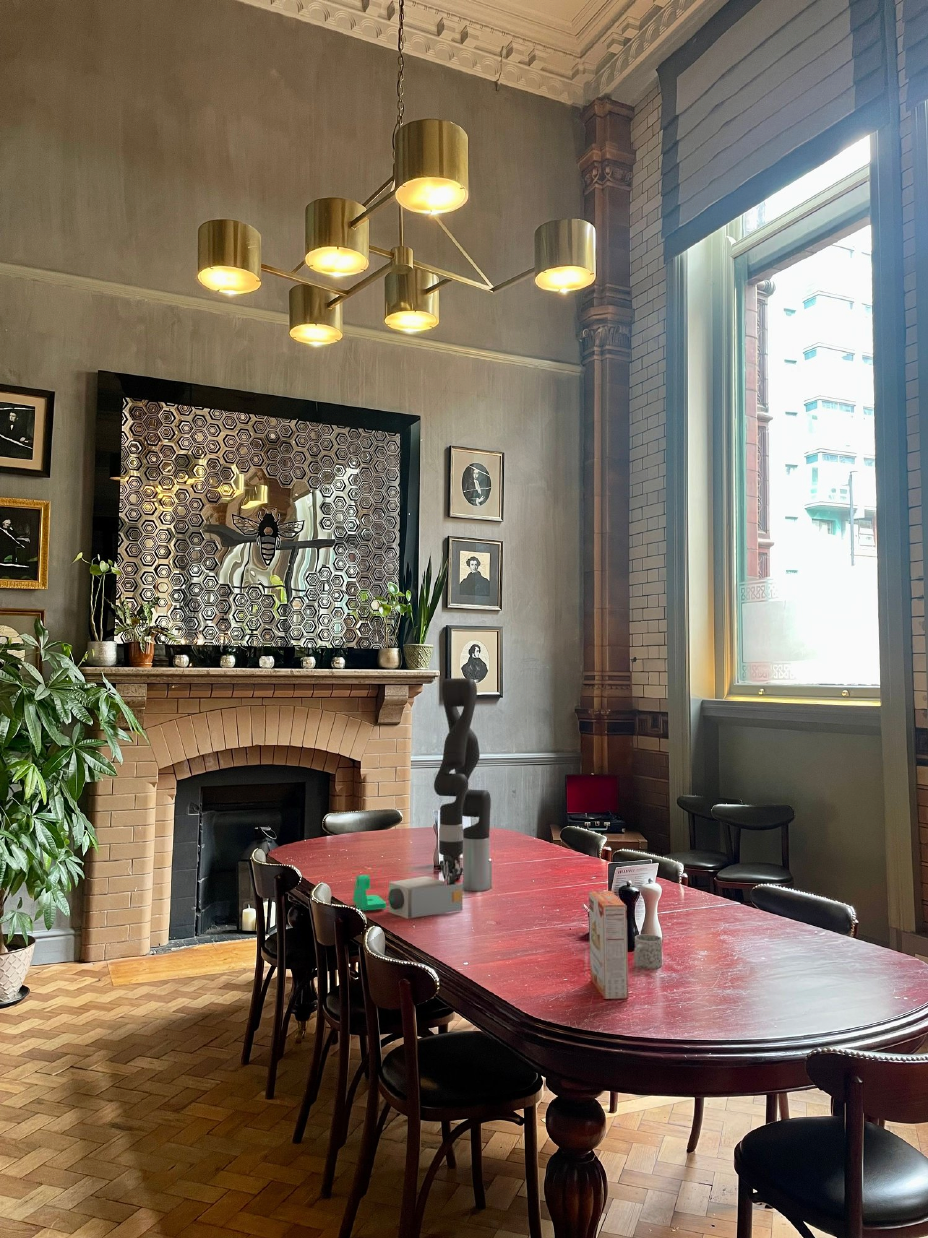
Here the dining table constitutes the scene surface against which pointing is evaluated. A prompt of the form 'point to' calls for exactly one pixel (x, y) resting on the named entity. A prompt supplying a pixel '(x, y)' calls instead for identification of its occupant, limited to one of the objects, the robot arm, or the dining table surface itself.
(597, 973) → the cracker box
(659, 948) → the mug
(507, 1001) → the dining table surface
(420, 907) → the side door
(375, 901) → the camera mount
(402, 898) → the camera housing
